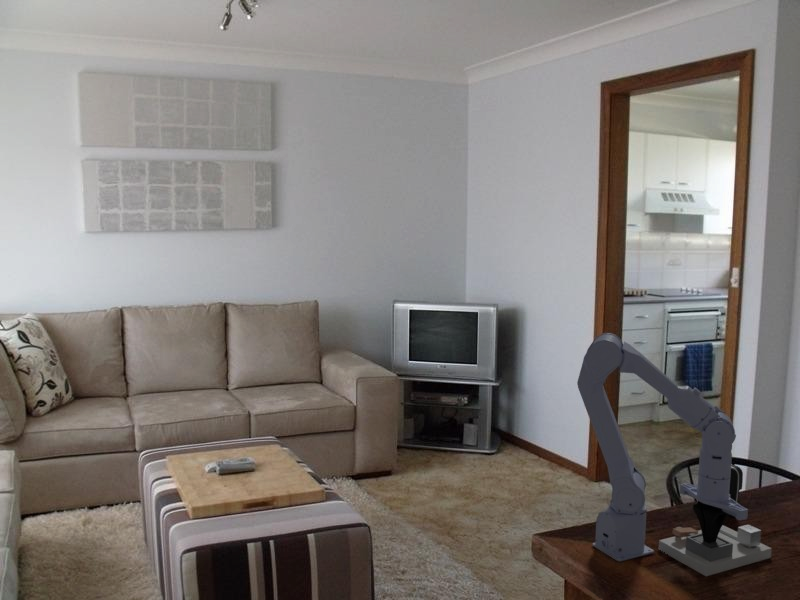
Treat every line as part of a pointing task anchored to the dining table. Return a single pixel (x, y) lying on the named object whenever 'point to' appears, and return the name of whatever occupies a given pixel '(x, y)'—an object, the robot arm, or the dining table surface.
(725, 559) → the control panel
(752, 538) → the slider knob
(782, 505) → the dining table surface
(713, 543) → the push button
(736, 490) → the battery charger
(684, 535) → the rocker switch
